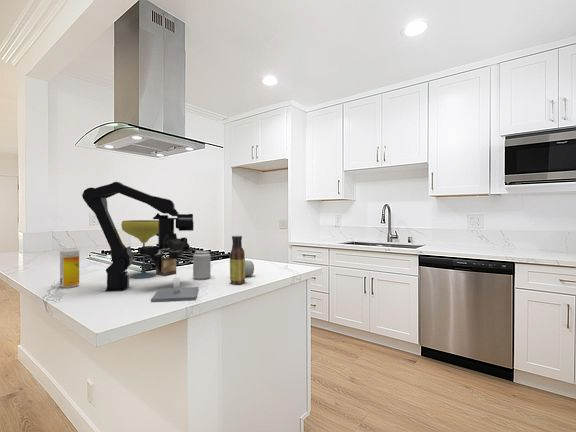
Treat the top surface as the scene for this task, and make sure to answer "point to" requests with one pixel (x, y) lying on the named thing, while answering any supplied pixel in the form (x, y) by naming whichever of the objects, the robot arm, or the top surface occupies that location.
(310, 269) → the top surface
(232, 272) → the sauce bottle
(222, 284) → the top surface
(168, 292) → the pin board
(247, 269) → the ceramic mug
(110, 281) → the robot arm
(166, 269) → the oak sleeve
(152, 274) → the cocktail glass
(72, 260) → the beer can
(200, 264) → the can
